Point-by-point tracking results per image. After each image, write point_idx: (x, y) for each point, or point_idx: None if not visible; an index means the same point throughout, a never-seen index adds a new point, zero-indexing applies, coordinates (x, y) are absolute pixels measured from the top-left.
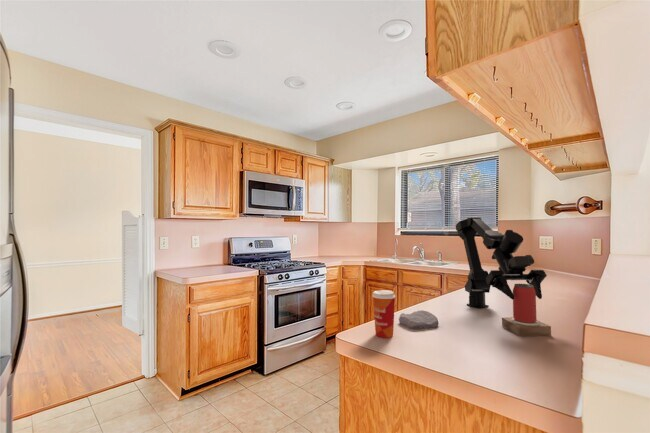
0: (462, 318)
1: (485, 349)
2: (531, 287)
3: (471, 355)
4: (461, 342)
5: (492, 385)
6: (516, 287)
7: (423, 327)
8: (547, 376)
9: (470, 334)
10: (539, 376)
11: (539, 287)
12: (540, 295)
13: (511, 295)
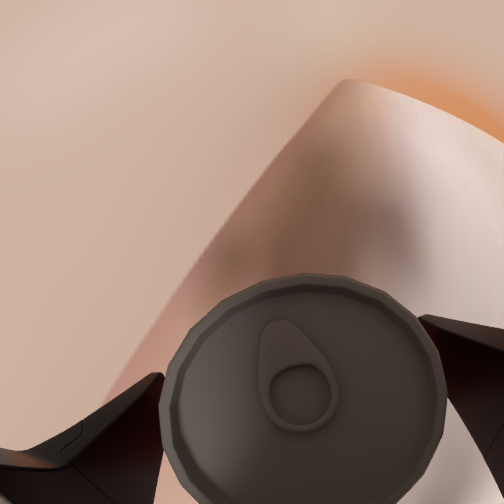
0: (487, 486)
1: (450, 194)
2: (238, 301)
3: (464, 167)
4: (497, 228)
5: (417, 103)
6: (425, 357)
7: None
8: (349, 117)
9: (493, 297)
10: (361, 117)
11: (88, 424)
12: (152, 378)
13: (443, 321)
